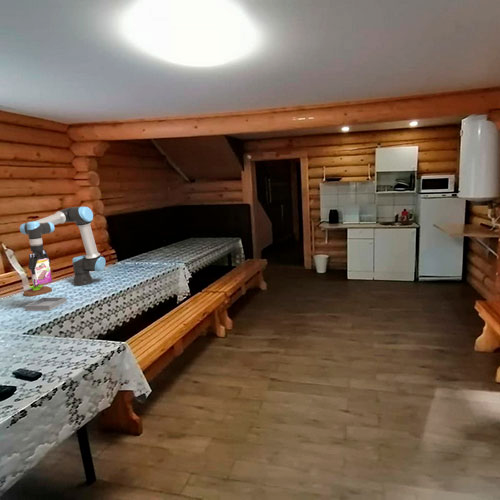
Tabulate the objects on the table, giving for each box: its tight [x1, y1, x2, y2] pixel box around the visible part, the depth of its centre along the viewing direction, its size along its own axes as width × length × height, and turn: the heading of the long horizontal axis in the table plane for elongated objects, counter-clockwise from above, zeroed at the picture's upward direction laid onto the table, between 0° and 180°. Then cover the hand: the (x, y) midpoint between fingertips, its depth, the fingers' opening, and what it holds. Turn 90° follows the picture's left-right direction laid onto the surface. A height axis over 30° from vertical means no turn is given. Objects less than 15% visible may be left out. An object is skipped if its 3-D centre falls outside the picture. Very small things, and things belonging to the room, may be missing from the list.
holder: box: [24, 296, 68, 312], centre depth 262 cm, size 18×18×4 cm
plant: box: [22, 284, 53, 298], centre depth 299 cm, size 20×20×11 cm
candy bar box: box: [30, 258, 53, 286], centre depth 258 cm, size 11×5×16 cm, turn 134°
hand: (41, 276), depth 259 cm, fingers closed on candy bar box, 11 cm apart
